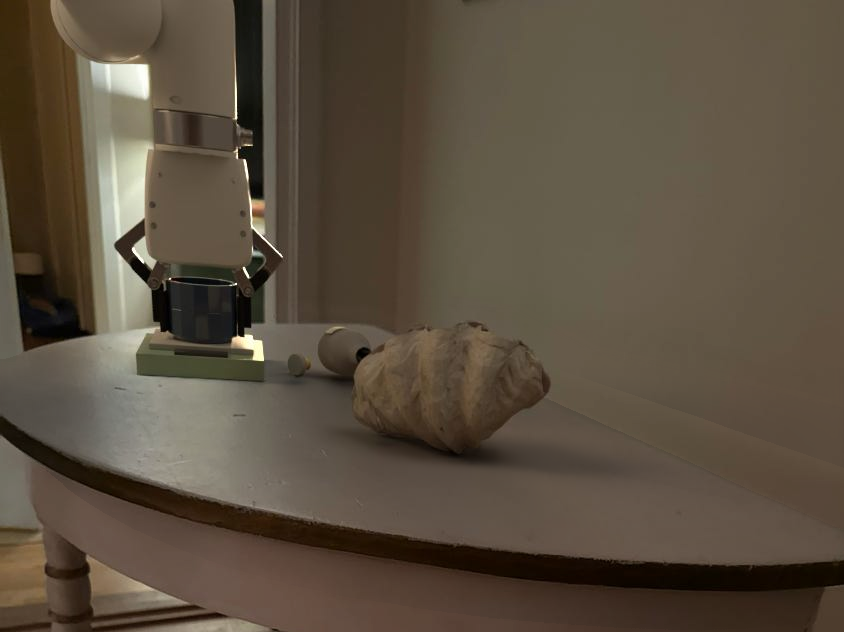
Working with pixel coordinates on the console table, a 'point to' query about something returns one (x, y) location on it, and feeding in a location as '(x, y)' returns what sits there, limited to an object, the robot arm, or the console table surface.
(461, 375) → the seashell
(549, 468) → the console table surface
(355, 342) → the jar with stopper
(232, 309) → the cup
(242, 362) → the scale
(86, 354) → the console table surface
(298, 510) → the console table surface
